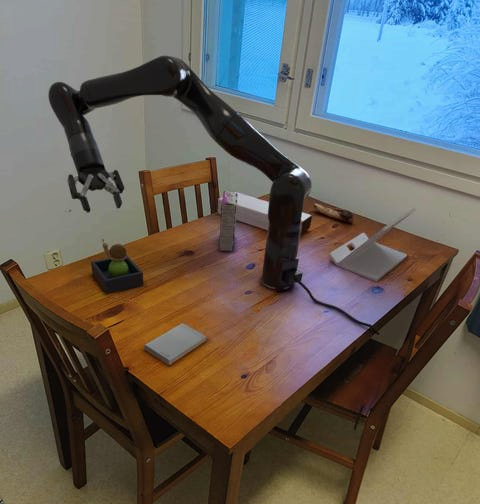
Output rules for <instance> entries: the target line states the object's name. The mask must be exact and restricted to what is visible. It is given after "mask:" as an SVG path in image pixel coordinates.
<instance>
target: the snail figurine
mask: <svg viewBox="0 0 480 504" xmlns="http://www.w3.org/2000/svg"><path fill="white" fill-rule="evenodd" d="M101 241H102V248H103V251H104V253H105V255H106V257H107V259H108V258H109V259H110V260H112V262H111V263H110V264H109V267H108V270H109V273H110V275H111V276H112V277H113V278H114V277H119V276H123V275H127V274H128V265H127V264H126V262H124V260H125V259H126V258H127V257H126V256H125V255H127V251H128V250H127V248H126V247H125V245H123V244H122V243H121V244H120V243H116V244H113V245H111V246H110V247H108V246H109V245H108V243H107V242H105V239H104V238H102V239H101ZM124 256H125V257H124Z"/></svg>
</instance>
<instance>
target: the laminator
mask: <svg viewBox="0 0 480 504" xmlns="http://www.w3.org/2000/svg"><path fill="white" fill-rule="evenodd" d="M232 192H235V191H232ZM222 198H223V195H222V196H220V197H218V198H217V207H216V212H217V214H218V215H219V216H221V206H222ZM268 207H269V201H266V200H263V199H260V198H257V197H253V196H250V195H246V194H243V193H240V192H238V196H237V211H236V222H240V223H242V224H245V225H248V226H252V227H255V228H257V229H260V230H263V231H267V232H268V225H269V221H268ZM312 219H313V215H312V214H309V213H307V212H303V211H302V217H301V220H302V223H303V225H302V231H301V235H303V234H304V233H305V232H307V231H308V230H310V228H311V225H312Z"/></svg>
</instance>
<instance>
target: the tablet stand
mask: <svg viewBox="0 0 480 504" xmlns="http://www.w3.org/2000/svg"><path fill="white" fill-rule="evenodd" d="M414 212H416V208H412V209H411V210H409V211H408V212H406V213H405V214H403V215H401V216H400V217H398V218H396V219H395V220H393V221H391V222H390V223H388V224H387V225H386V226H384V227H383V228H381V229H380V230H378V231H377V232H376V233H374V234H373V235H372V236H371V237H370V238H369V237H368V236H367V234H366V233H365V232H362V233H360V234H358V235H356V236H355V237H354V238H352V239H350V240H348V241H347V242H345V243H344V244H342V245H340V246H338V247H337V248H336V249H333V250H332V251H331V252H329V253H328V257H329V258H330V259H331V261H332V262H333V264H334V265H336V266H338V267H340V268H342V269H345V270H347V271H349V272H352V273H355V274H357V275H359V276H362V277H363V278H367V279H369V280H372V281H374V282H378V281H379V280H380V279H381V278H383V277H384V276H385V275H387V274H388V273H389V272H390V271H391V270H392V269H394V268H395V267H396V266H398V264H401V263H402V262H403V261H404V260H406V258H407V256H408V254H407V253H404V252H401V251H399V250H396V249H393V248H391V247H389V246H386V245H384V244H381V243H378V242H377V240H378V239H380V238H381V237H383V236H384V235H385V234H387V233H388V232H389V231H391V229H393V228H394V227H396V226H397V225H398V224H400V223H402V221H404V220H405V219H406V218H408V217H410V216H411V215H412V214H413V213H414ZM348 246H351V247H352V248H353V250H350V248H349V247H348Z"/></svg>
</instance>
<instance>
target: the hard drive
mask: <svg viewBox="0 0 480 504" xmlns="http://www.w3.org/2000/svg"><path fill="white" fill-rule="evenodd" d="M206 341H207V336H206V335H205V334H203V333H202V332H199V331H198V330H196V329H194V328H192V327H191V326H189V325H187V324H186V323H183V322H181V323H180V324H178V325H176V326H174V327H173V328H171V329H169V330H167V331H165V332H164V333H162V334H161V335H159V336H157V337H156V338H154V339H152V340H151V341H149V342H147V343H145V344H143V348H144V351H146V352H147V353H149V354H150V355H152V356H153V357H155V358H157V359H158V360H159V361H161V362H163V363H164V364H166V365H167V366H171V365H172V364H174V363H175V362H176V361H178V360H180V359H182V357H184V356H186V355H187V354H188V353H190V352H192V351H193V350H195V349H196V348H198V347H199V346H201V345H202V344H204V343H205V342H206Z"/></svg>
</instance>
